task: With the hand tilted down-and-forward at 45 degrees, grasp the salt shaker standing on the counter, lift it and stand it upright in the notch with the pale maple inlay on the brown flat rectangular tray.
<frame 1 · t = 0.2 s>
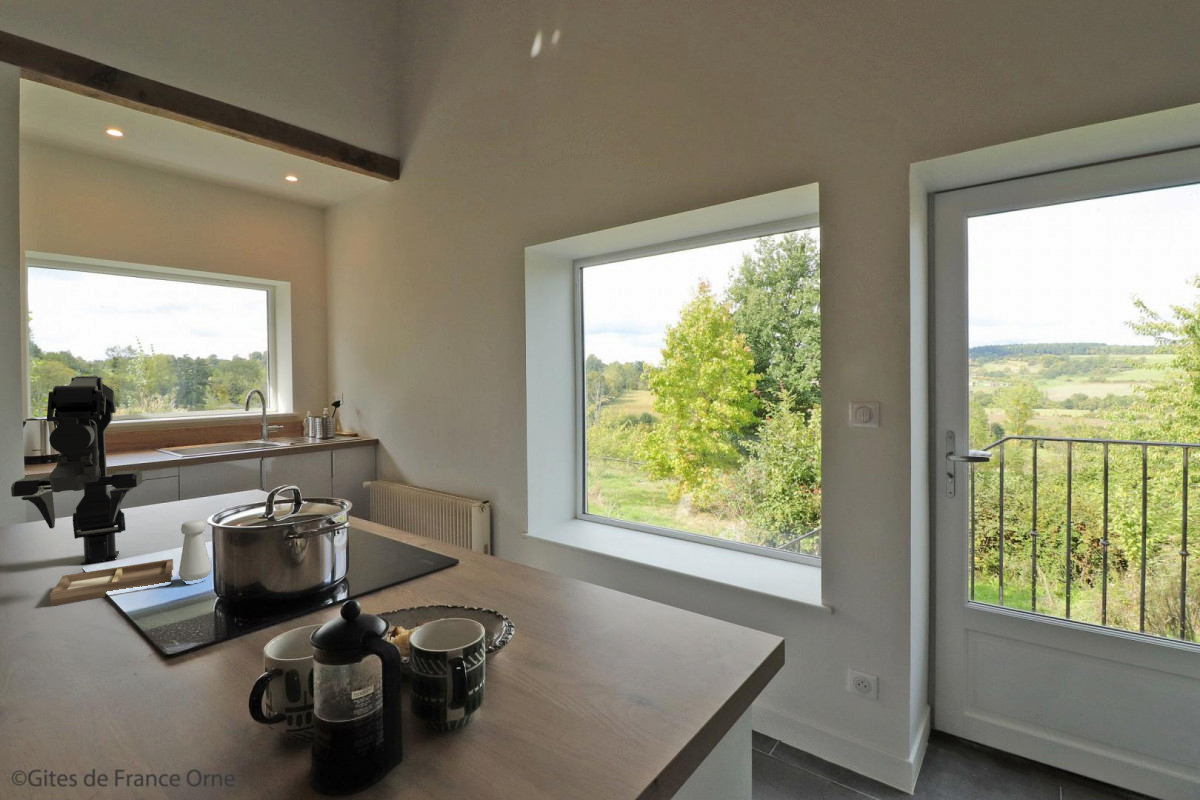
hand: (82, 525, 114), 14 cm above the kitchen island, tool pointing down, fingers open, 9 cm apart
salt shaker: (195, 581, 122), on the kitchen island
brown flat rectangular tray: (117, 586, 119), on the kitchen island
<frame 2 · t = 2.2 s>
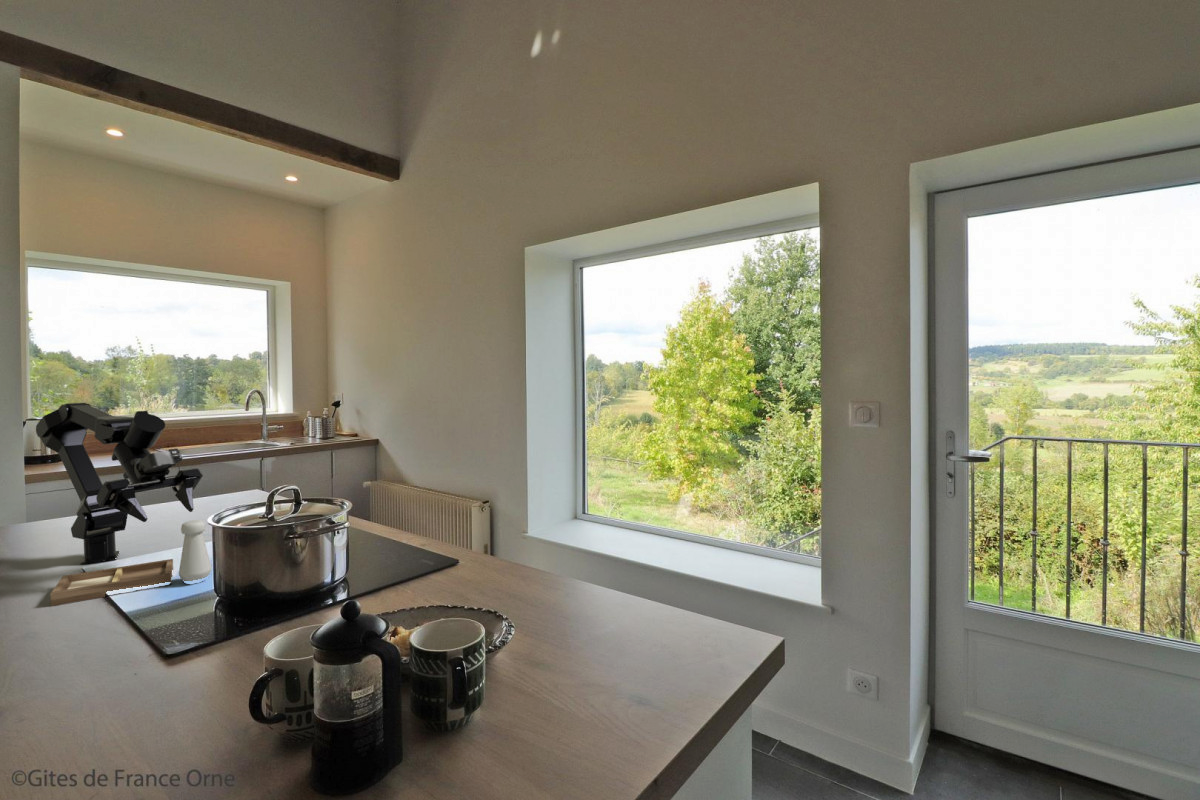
hand: (169, 515, 124), 13 cm above the kitchen island, tool tilted 45°, fingers open, 9 cm apart
nothing on the kitchen island moved.
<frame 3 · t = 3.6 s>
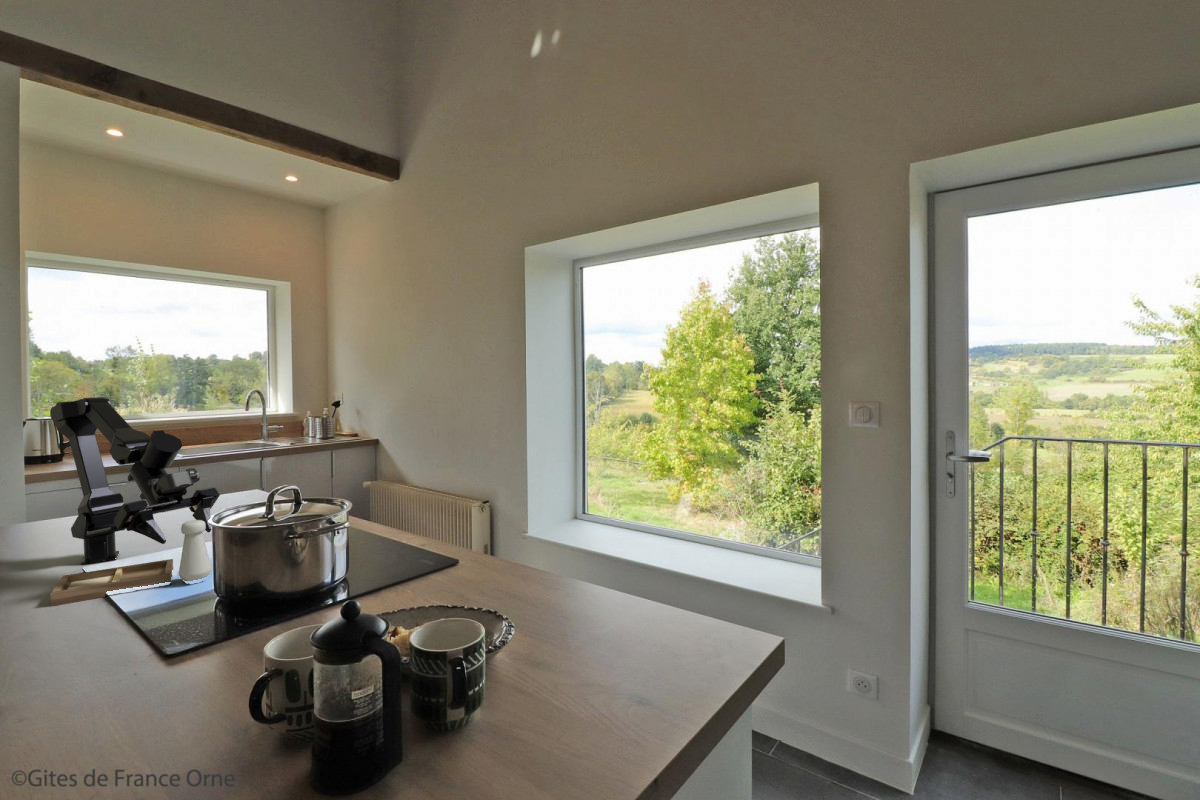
hand: (188, 536, 122), 9 cm above the kitchen island, tool tilted 45°, fingers open, 9 cm apart
nothing on the kitchen island moved.
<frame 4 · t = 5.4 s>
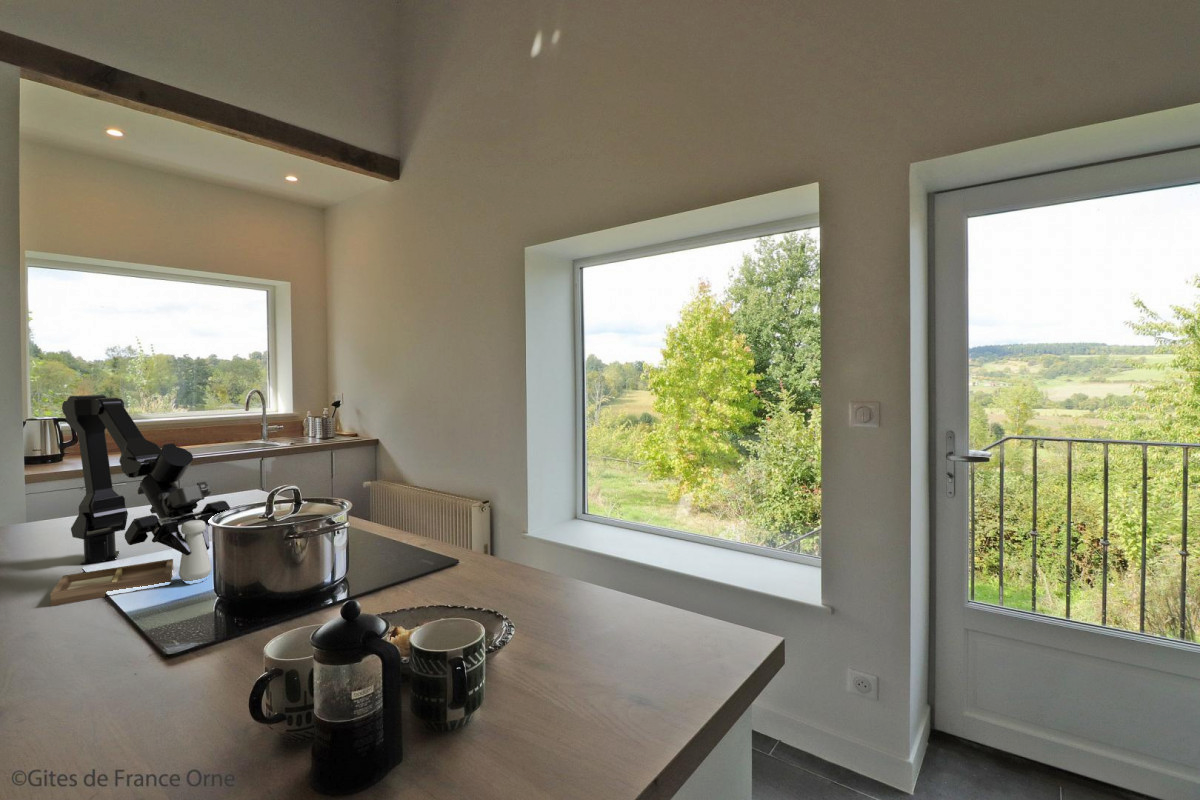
hand: (198, 551, 121), 7 cm above the kitchen island, tool tilted 45°, fingers closed on salt shaker, 3 cm apart
salt shaker: (195, 581, 122), on the kitchen island, touching gripper
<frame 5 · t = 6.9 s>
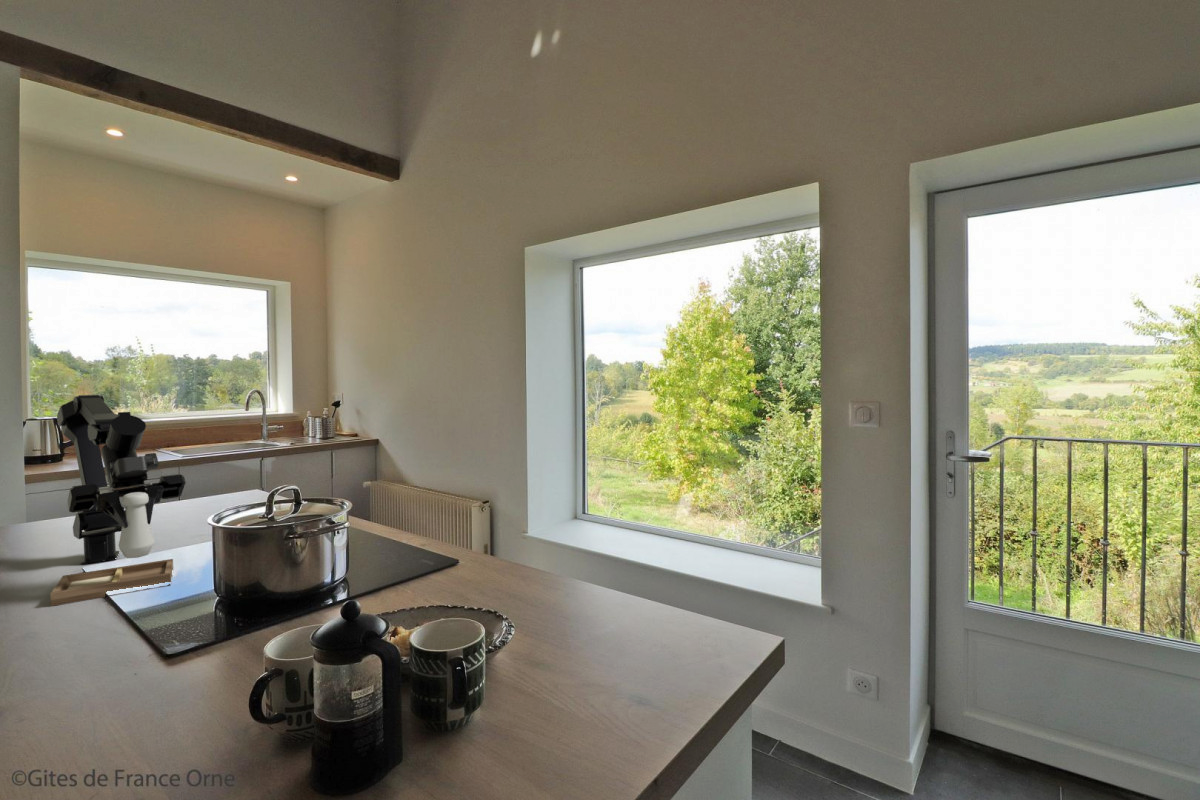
hand: (137, 525, 117), 13 cm above the kitchen island, tool tilted 45°, fingers closed on salt shaker, 3 cm apart
salt shaker: (137, 555, 118), point 7 cm above the kitchen island, touching gripper
when the fingers open (9 cm above the kitchen island, at t = 8.5 s): salt shaker drops 1 cm, resting on brown flat rectangular tray.
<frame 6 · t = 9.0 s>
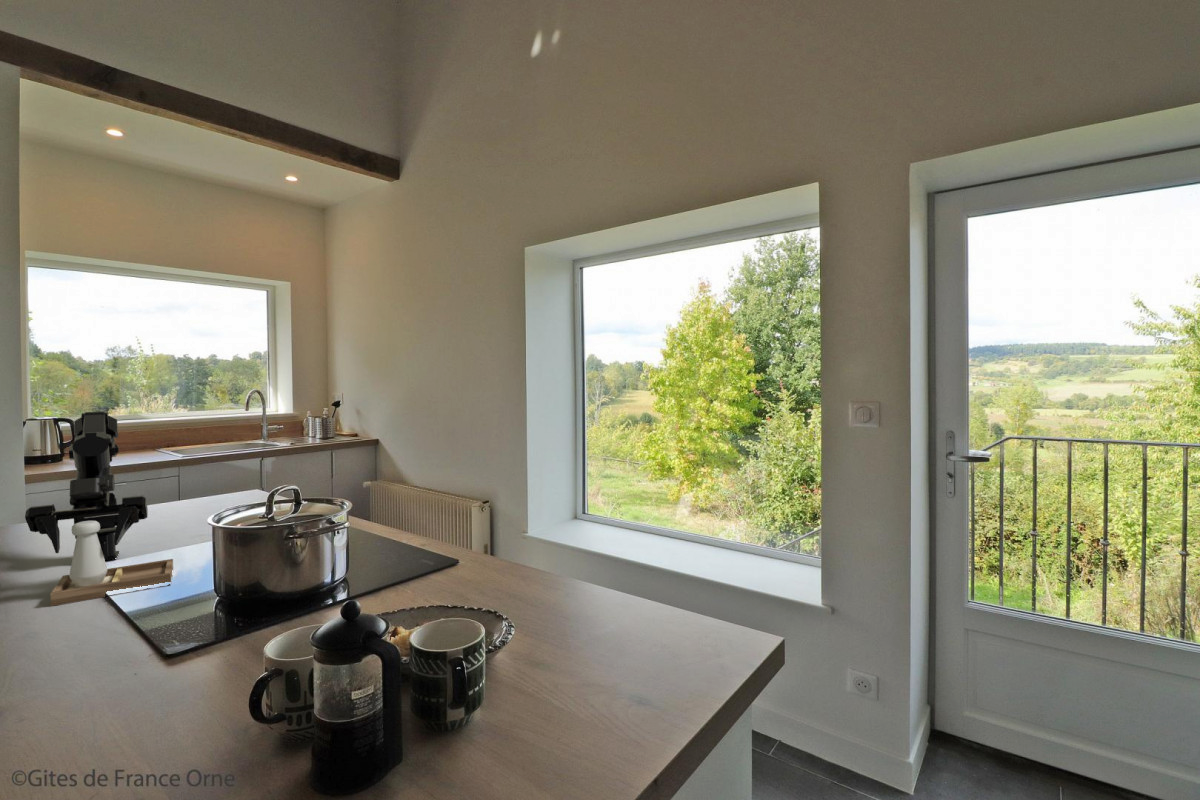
hand: (86, 548, 115), 9 cm above the kitchen island, tool tilted 45°, fingers open, 9 cm apart
salt shaker: (89, 585, 117), point 1 cm above the kitchen island, touching brown flat rectangular tray
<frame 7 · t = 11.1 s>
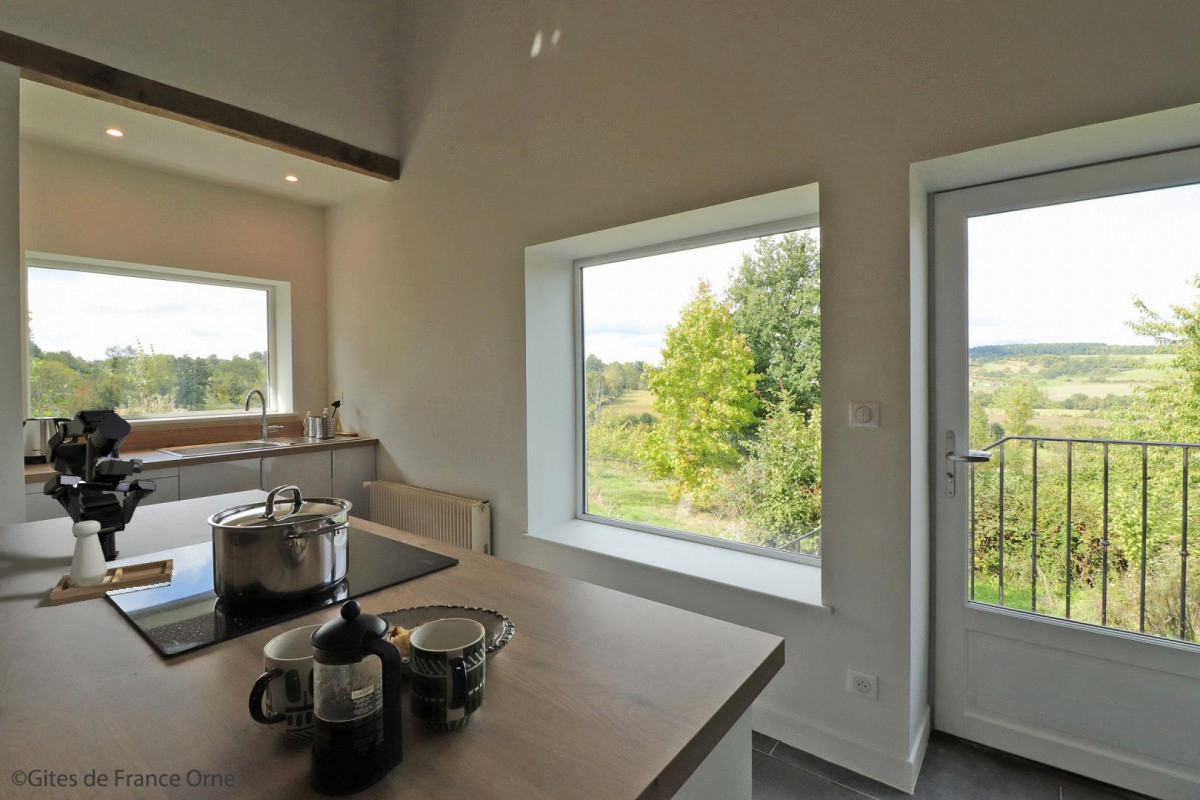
hand: (103, 523, 125), 12 cm above the kitchen island, tool tilted 30°, fingers open, 9 cm apart
nothing on the kitchen island moved.
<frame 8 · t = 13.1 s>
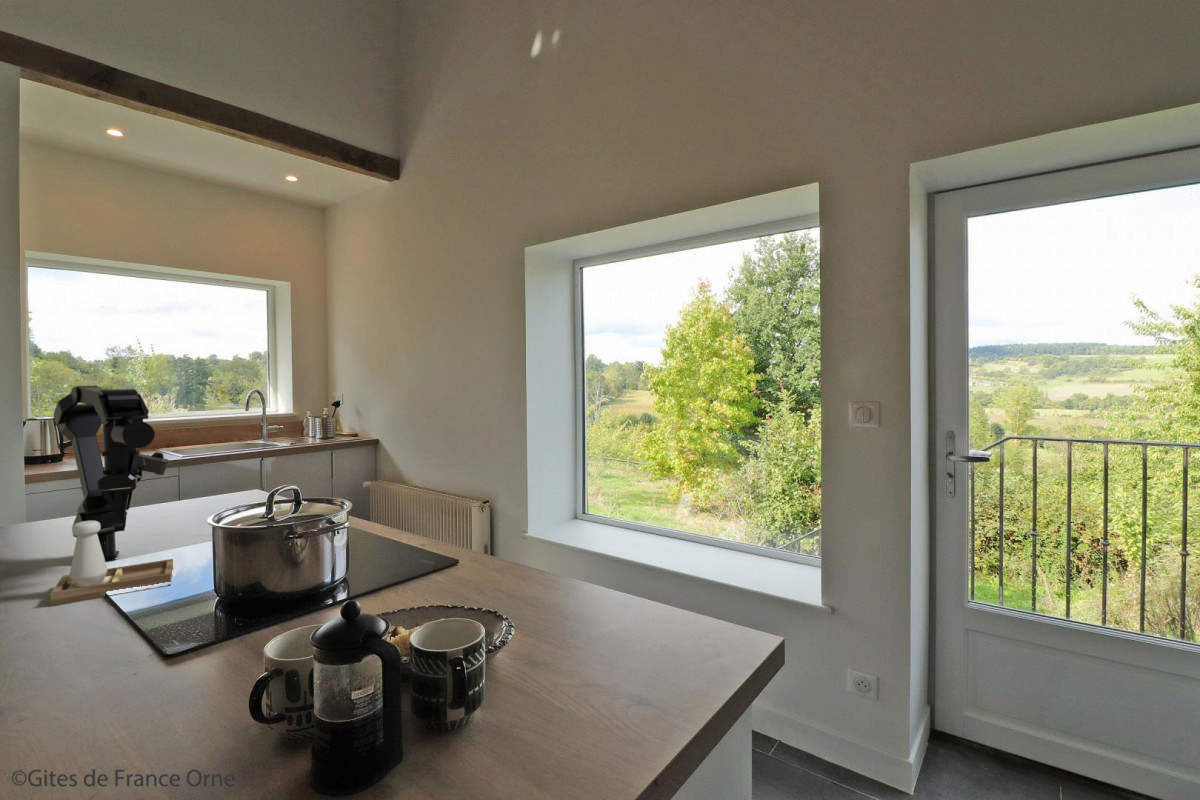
hand: (123, 514, 128), 13 cm above the kitchen island, tool pointing down, fingers open, 9 cm apart
nothing on the kitchen island moved.
at the end: salt shaker inside the target area (0.2 cm from its centre), point 1.1 cm above the kitchen island; salt shaker tilted 0°; the gripper is holding nothing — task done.
